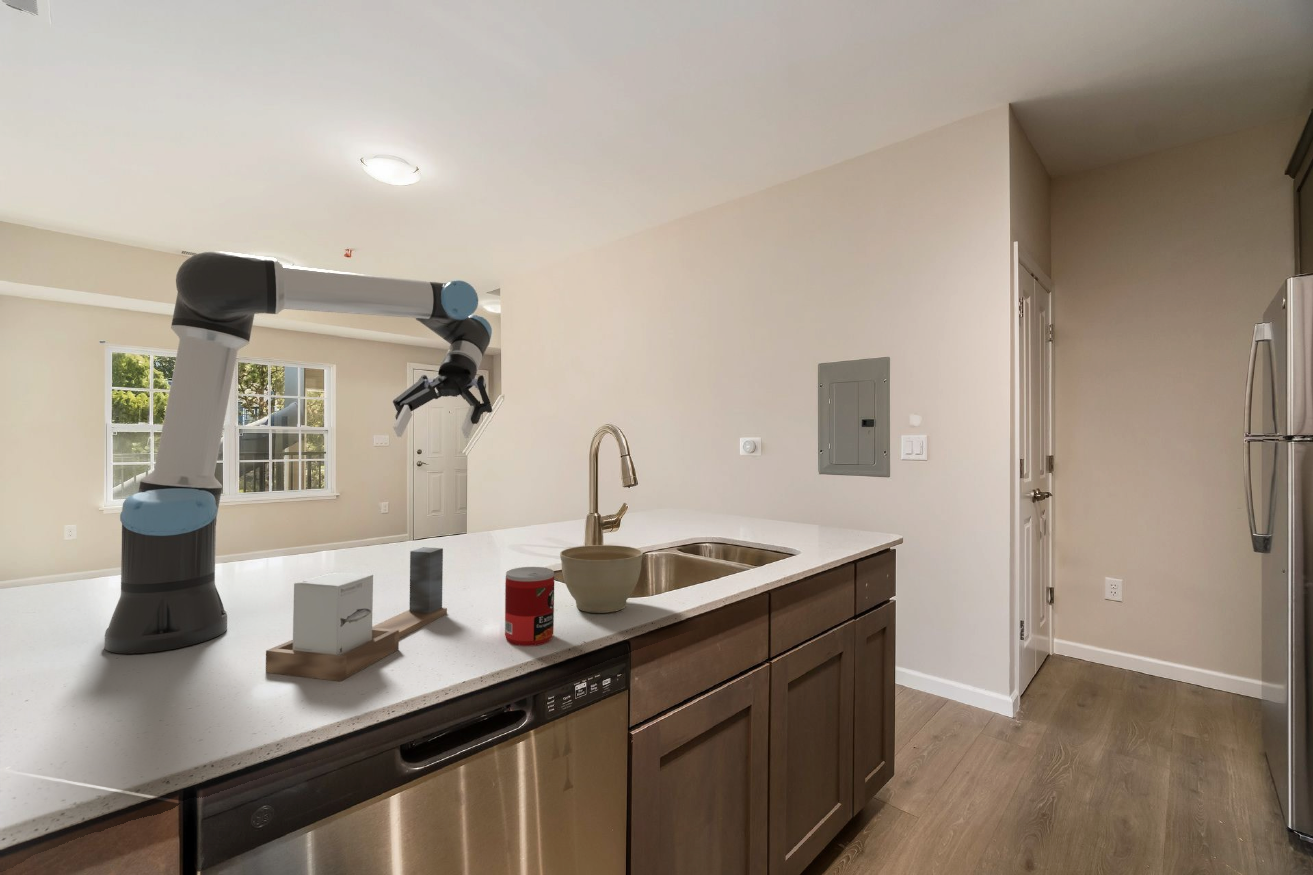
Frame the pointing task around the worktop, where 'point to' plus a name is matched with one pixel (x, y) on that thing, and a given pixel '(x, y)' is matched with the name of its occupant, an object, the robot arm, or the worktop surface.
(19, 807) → the worktop surface
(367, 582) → the supplement box
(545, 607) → the canned food
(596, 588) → the planter bowl
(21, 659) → the worktop surface
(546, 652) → the worktop surface
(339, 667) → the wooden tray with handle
